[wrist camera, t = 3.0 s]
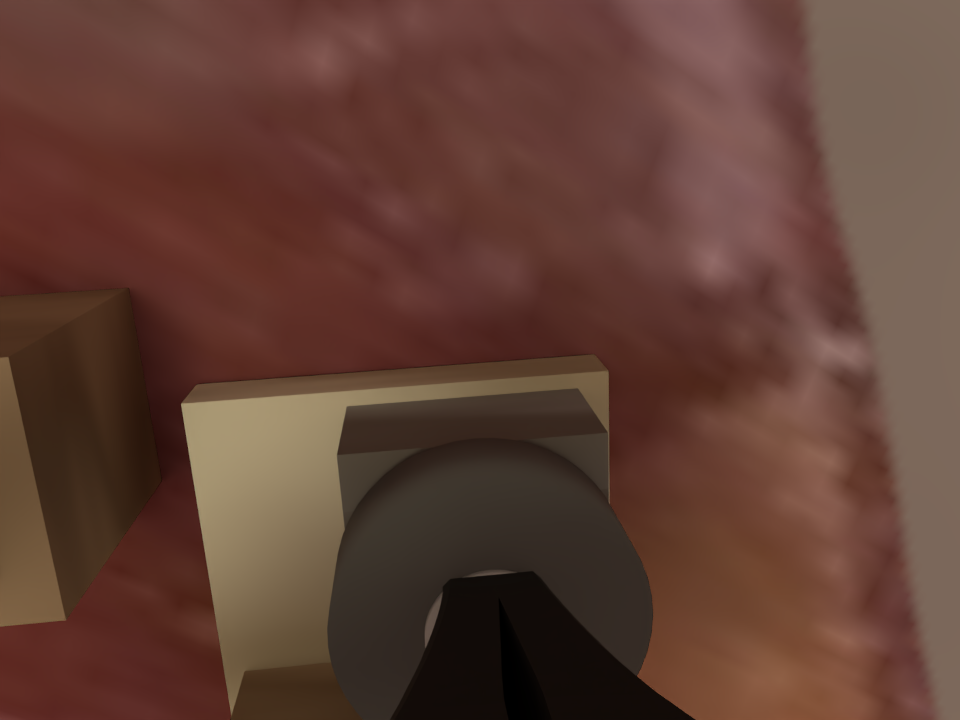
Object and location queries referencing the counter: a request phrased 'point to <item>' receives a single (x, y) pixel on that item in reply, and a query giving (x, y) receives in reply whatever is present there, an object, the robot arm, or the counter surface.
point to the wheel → (475, 558)
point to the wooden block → (68, 446)
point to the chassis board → (345, 493)
